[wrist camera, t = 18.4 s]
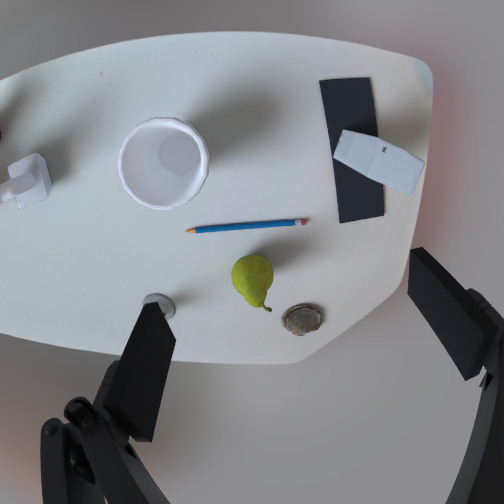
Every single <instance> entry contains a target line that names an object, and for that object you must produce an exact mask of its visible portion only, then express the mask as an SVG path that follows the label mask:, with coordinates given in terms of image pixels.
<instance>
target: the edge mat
mask: <svg viewBox="0 0 504 504" xmlns="http://www.w3.org/2000/svg"><path fill="white" fill-rule="evenodd" d="M319 83H320V88H321V93H322V98H323V104H324V109H325V115H326V121H327V127H328V133H329V139H330V146H331V153H332V160H333V167H334V175H335V183H336V192H337V201H338V210H339V221H340V223H345V222H350V221H356V220H362V219H367V218H373V217H379V216H384V200H383V184H382V183H379V182H377V181H375V180H373V179H370V178H368V177H366V176H365V175H363V174H361V173H359V172H358V171H356V170H354V169H353V168H351V167H349V166H347V165H346V164H344V163H342V162H340V161H339V160H337V159H335V158H333V156H334V153H335V150H336V147H337V145H338V142H339V139H340V136H341V133H342V131H343V129H344V130H349V131H353V132H357V133H362V134H366V135H370V136H375V137H378V131H377V123H376V116H375V109H374V103H373V97H372V91H371V85H370V80H369V78H349V79H334V80H322V81H319Z"/></svg>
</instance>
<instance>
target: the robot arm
mask: <svg viewBox="0 0 504 504" xmlns="http://www.w3.org/2000/svg"><path fill="white" fill-rule="evenodd" d="M408 295H409V297H410V298H411V299H412V301H413V302H414V303H415V305H416V306H417V307H418V309H419V310H420V312H421V313H422V315H423V316H424V318H425V319H426V320H427V322H428V323H429V325H430V326H431V328H432V329H433V331H434V332H435V333H436V335H437V337H438V338H439V340H440V341H441V343H442V344H443V345H444V347H445V349H446V350H447V352H448V354H449V355H450V357H451V358H452V360H453V362H454V363H455V365H456V366H457V368H458V370H459V371H460V373H461V375H462V376H463V378H464V380H465V381H467V380H469V379H471V378H473V377H475V376H477V375H479V373H480V371H481V369H482V366H483V365H484V367H485V369H486V370H487V372H486V373H485V375H484V378H483V380H482V381H481V384H480V386H479V387H482V385H483V388H482V393H481V398H480V402H479V407H478V411H477V415H476V419H475V423H474V427H473V430H472V434H471V438H470V441H469V444H468V447H467V451H466V453H465V456H464V459H463V462H462V465H461V467H460V470H459V473H458V475H457V478H456V481H455V483H454V486H453V488H452V490H451V492H450V495H449V497H448V499H447V501H446V504H504V319H503V318H502V317H501V315H500V314H499V313H498V312H497V311H496V310H495V309H494V308H493V307H491V304H489V302H488V301H486V299H485V298H484V297H483V296H482V295H481V294H480V293H479V292H477V291H475V290H473V289H471V288H470V289H468V290H465V289H464V288H463V287H462V286H461V285H460V284H459V283H458V282H457V281H456V279H455V278H453V276H452V275H451V274H450V273H449V272H448V271H447V270H446V269H445V268H444V267H443V266H442V265H441V264H440V263H439V262H438V261H437V260H435V259H434V258H433V257H432V256H431V255H430V254H429V253H428V252H427V251H426V250H425V249H424V248H423V247H420V248H415V249H411V250H410V262H409V280H408ZM175 343H176V339H175V337H174V335H173V333H172V331H171V329H170V327H169V325H168V323H167V320H166V318H165V316H164V314H163V312H162V310H161V308H160V306H159V304H158V301H157V302H151V303H145V304H144V306H143V309H142V311H141V313H140V315H139V317H138V320H137V322H136V324H135V326H134V328H133V331H132V333H131V335H130V338H129V340H128V342H127V344H126V347H125V349H124V352H123V354H122V356H121V359H120V360H117V361H114V362H113V363H112V364H111V365H110V366H109V368H108V369H107V371H106V374H105V376H104V379H103V381H102V383H101V386H100V388H99V390H98V393H97V395H96V398H95V400H94V402H93V405H92V404H91V403H90V402H89V401H88V400H87V399H86V398H84V397H77V398H74V399H73V400H71V401H70V402H69V403H68V404H67V405H66V407H65V409H64V416H65V418H66V419H67V420H68V421H69V422H70V423H67V424H63V423H62V422H61V421H60V420H59V419H58V418H51V419H49V420H47V421H46V422H45V423H44V425H43V426H42V429H41V447H40V454H41V456H40V457H41V483H42V496H43V504H106V503H105V498H106V500H107V502H108V504H170V502H169V501H168V500H167V498H166V497H165V496H164V494H163V493H162V492H161V490H160V489H159V487H158V486H157V484H156V483H155V482H154V480H153V479H152V477H151V476H150V474H149V473H148V471H147V470H146V468H145V466H144V465H143V463H142V462H141V460H140V458H139V457H138V455H137V454H136V452H135V450H134V449H133V447H132V445H131V444H130V443H129V442H128V440H129V436H131V437H132V438H134V440H135V441H137V442H152V439H153V434H154V429H155V425H156V421H157V416H158V412H159V408H160V403H161V399H162V395H163V390H164V387H165V382H166V378H167V374H168V370H169V366H170V363H171V359H172V355H173V351H174V347H175ZM104 496H105V498H104Z"/></svg>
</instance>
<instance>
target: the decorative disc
mask: <svg viewBox="0 0 504 504" xmlns="http://www.w3.org/2000/svg"><path fill="white" fill-rule="evenodd" d="M282 324H283V326H284V327H285V328H286V329H287V330H289V331H292V333H293V334H294V335H300V336H303V335H305V334H306V333H308V332H311V331H315V330H318V328H319V327H320V324H321V314H320V312H319V311H315V310H314V309H313V308H312V307H311V306H308V305H307V306H303V305H301V306H296V307H294V308H290V309H289V310H287V311H286V312H285V313H284V315H283V316H282Z"/></svg>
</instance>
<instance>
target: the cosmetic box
mask: <svg viewBox="0 0 504 504" xmlns="http://www.w3.org/2000/svg"><path fill="white" fill-rule="evenodd" d="M333 158H335V159H337V160H339V161H340V162H342V163H344V164H346V165H347V166H349V167H351V168H353V169H354V170H356V171H358V172H359V173H361V174H363V175H365V176H366V177H368V178H370V179H373V180H375V181H377V182H379V183H382V184H384V185H386V186H389V187H391V188H394V189H396V190H398V191H401V192H403V193H405V194H407V195H409V196H412V194H413V191H414V189H415V186H416V184H417V181H418V179H419V177H420V174H421V172H422V169H423V167H424V164H425V162H424V161H423V160H421V159H419V158H418V157H416V156H414V155H412V154H410V153H409V152H407V151H406V150H404V149H401V148H399V147H398V146H396V145H394V144H392V143H390V142H387V141H385V140H383V139H381V138H378V137H375V136H370V135H366V134H362V133H357V132H353V131H349V130H344V129H343V131H342V133H341V136H340V139H339V142H338V145H337V147H336V150H335V153H334V156H333Z"/></svg>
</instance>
